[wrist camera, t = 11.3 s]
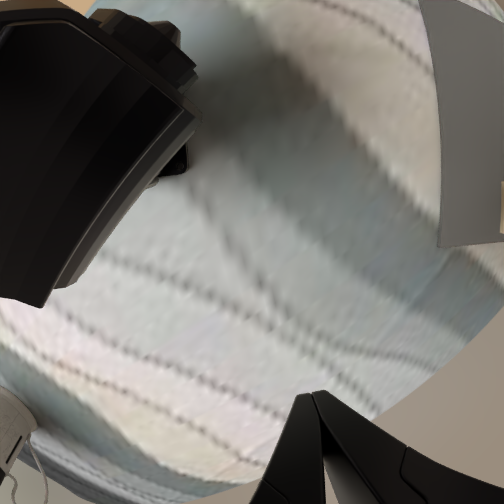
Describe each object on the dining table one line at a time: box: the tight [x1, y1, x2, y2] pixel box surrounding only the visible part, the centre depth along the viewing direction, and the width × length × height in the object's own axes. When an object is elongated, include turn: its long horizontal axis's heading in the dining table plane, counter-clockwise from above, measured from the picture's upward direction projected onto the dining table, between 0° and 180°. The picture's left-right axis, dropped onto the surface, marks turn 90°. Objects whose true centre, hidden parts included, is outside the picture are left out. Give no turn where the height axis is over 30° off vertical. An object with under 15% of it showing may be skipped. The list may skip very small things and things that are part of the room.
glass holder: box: [0, 386, 48, 504], centre depth 19 cm, size 9×14×15 cm, turn 57°
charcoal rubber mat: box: [418, 0, 504, 248], centre depth 17 cm, size 22×14×1 cm, turn 4°
